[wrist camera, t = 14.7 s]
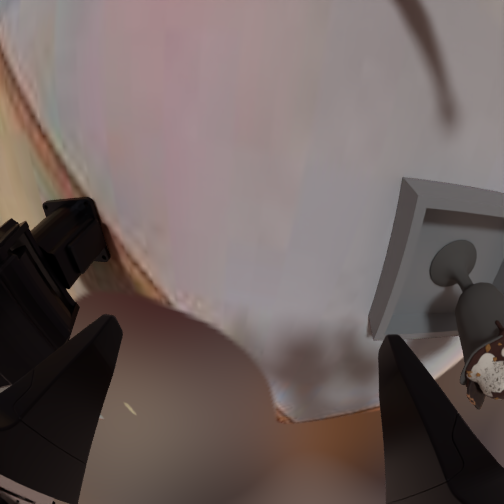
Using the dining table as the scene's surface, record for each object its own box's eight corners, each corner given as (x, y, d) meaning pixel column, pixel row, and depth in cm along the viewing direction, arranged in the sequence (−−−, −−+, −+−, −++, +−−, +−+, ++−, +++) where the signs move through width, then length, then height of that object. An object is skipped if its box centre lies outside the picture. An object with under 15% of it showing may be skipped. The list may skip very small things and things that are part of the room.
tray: (368, 315, 25) (373, 340, 23) (402, 177, 18) (418, 195, 15) (477, 311, 24) (487, 332, 21) (526, 198, 16) (545, 215, 14)
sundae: (482, 218, 18) (581, 371, 5) (483, 276, 21) (546, 414, 8) (415, 246, 20) (486, 430, 8) (425, 301, 23) (468, 455, 11)
